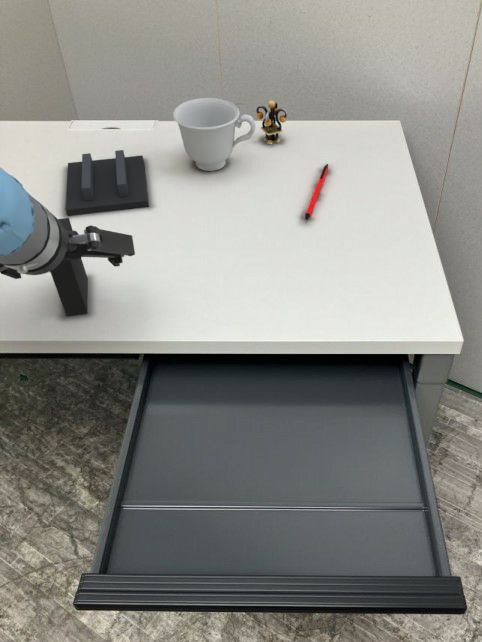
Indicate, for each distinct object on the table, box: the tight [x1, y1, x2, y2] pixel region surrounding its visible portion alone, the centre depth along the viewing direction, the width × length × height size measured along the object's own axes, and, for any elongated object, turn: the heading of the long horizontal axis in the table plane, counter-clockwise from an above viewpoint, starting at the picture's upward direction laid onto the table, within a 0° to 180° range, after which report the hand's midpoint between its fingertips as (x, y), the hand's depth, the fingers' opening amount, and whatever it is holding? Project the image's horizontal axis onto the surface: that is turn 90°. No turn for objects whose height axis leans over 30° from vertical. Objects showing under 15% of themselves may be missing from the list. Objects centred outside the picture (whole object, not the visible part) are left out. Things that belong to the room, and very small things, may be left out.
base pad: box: [65, 149, 150, 217], centre depth 107 cm, size 14×16×4 cm
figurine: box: [255, 100, 288, 145], centre depth 117 cm, size 5×5×8 cm
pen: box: [304, 163, 329, 222], centre depth 107 cm, size 1×19×1 cm, turn 166°
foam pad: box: [49, 217, 89, 317], centre depth 84 cm, size 3×8×11 cm, turn 12°
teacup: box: [172, 97, 256, 172], centre depth 110 cm, size 12×15×10 cm
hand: (66, 262), depth 84 cm, fingers open, 13 cm apart
